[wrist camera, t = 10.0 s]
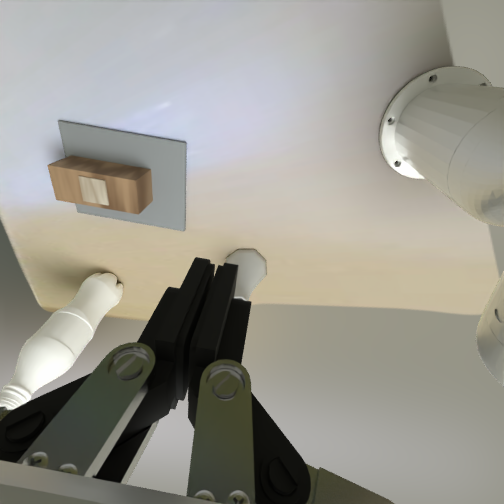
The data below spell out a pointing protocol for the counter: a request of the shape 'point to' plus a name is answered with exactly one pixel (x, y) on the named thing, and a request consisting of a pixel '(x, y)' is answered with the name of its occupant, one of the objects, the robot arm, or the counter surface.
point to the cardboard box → (101, 184)
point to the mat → (139, 155)
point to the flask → (247, 271)
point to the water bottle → (61, 339)
